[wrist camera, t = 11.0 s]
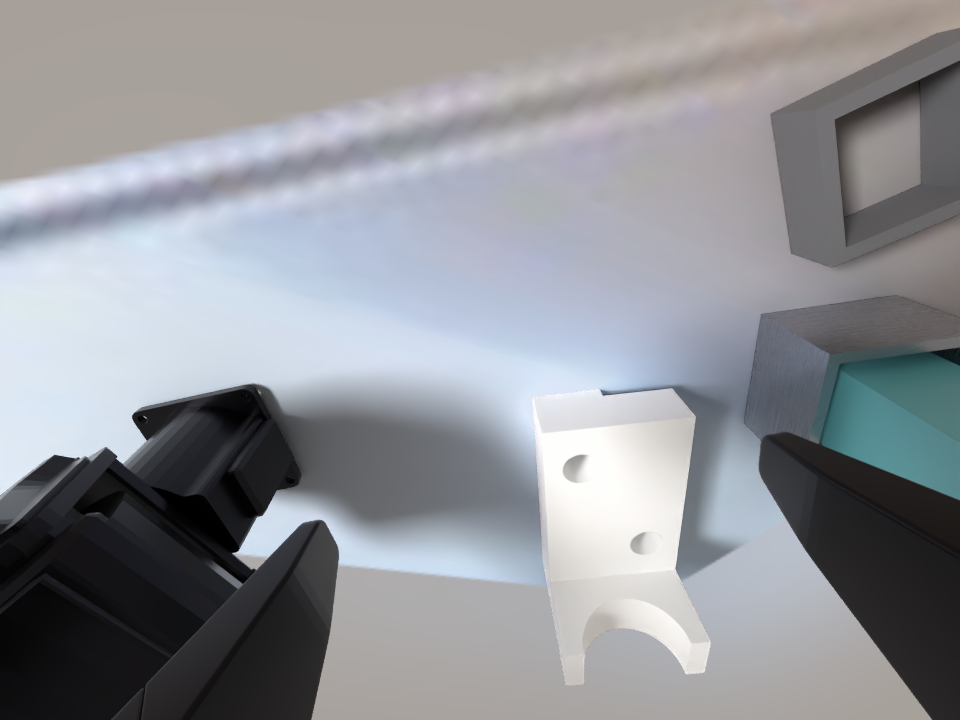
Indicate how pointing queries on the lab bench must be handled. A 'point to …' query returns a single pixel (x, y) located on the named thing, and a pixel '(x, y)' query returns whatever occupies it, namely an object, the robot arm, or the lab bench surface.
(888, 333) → the box
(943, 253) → the lab bench surface
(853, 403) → the plug
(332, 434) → the lab bench surface
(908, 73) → the frame
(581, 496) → the bracket
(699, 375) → the lab bench surface
